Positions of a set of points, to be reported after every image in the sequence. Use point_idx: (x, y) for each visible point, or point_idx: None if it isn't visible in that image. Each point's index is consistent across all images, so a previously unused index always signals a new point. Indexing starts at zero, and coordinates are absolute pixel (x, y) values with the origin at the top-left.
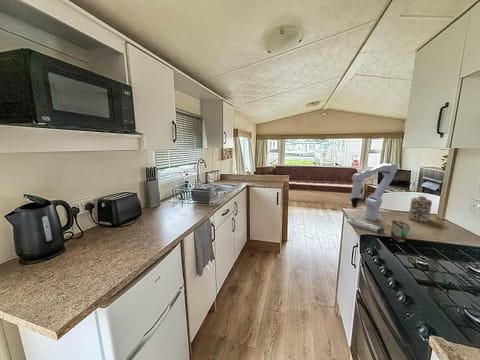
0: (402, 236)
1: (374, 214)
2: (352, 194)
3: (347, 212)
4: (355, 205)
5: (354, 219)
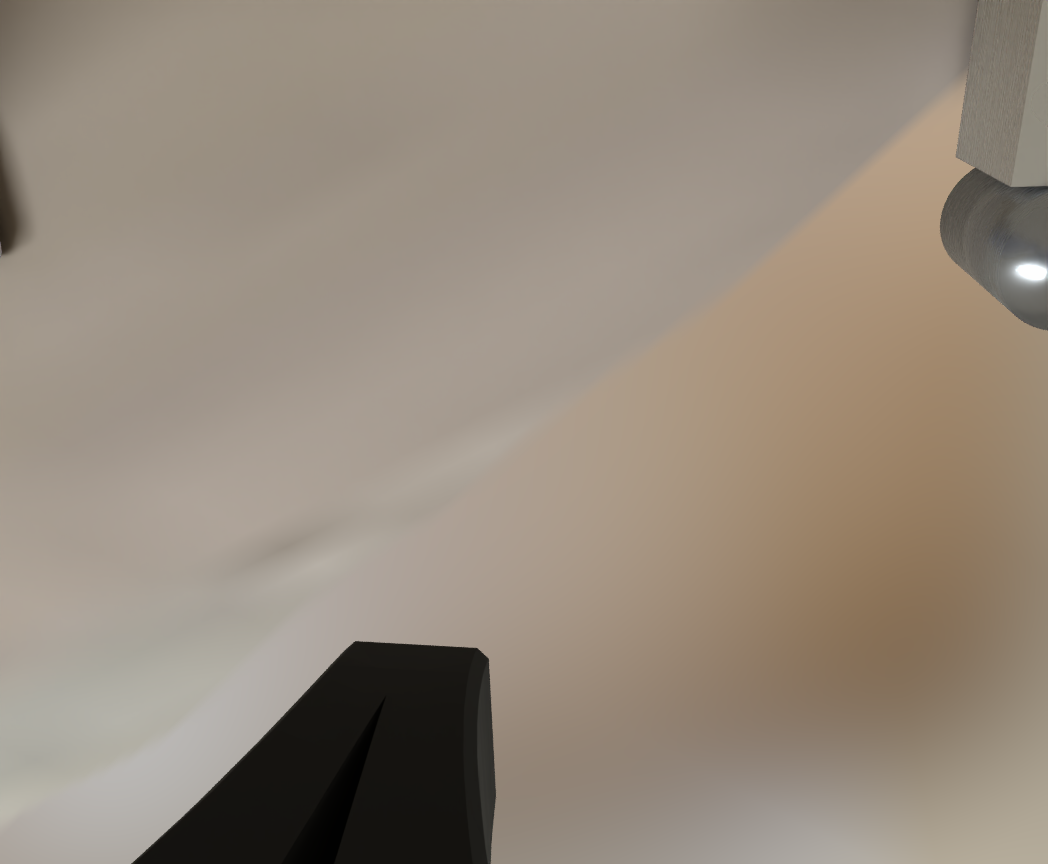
0: None
1: None
2: None
3: (67, 767)
4: (474, 791)
5: (1041, 111)
